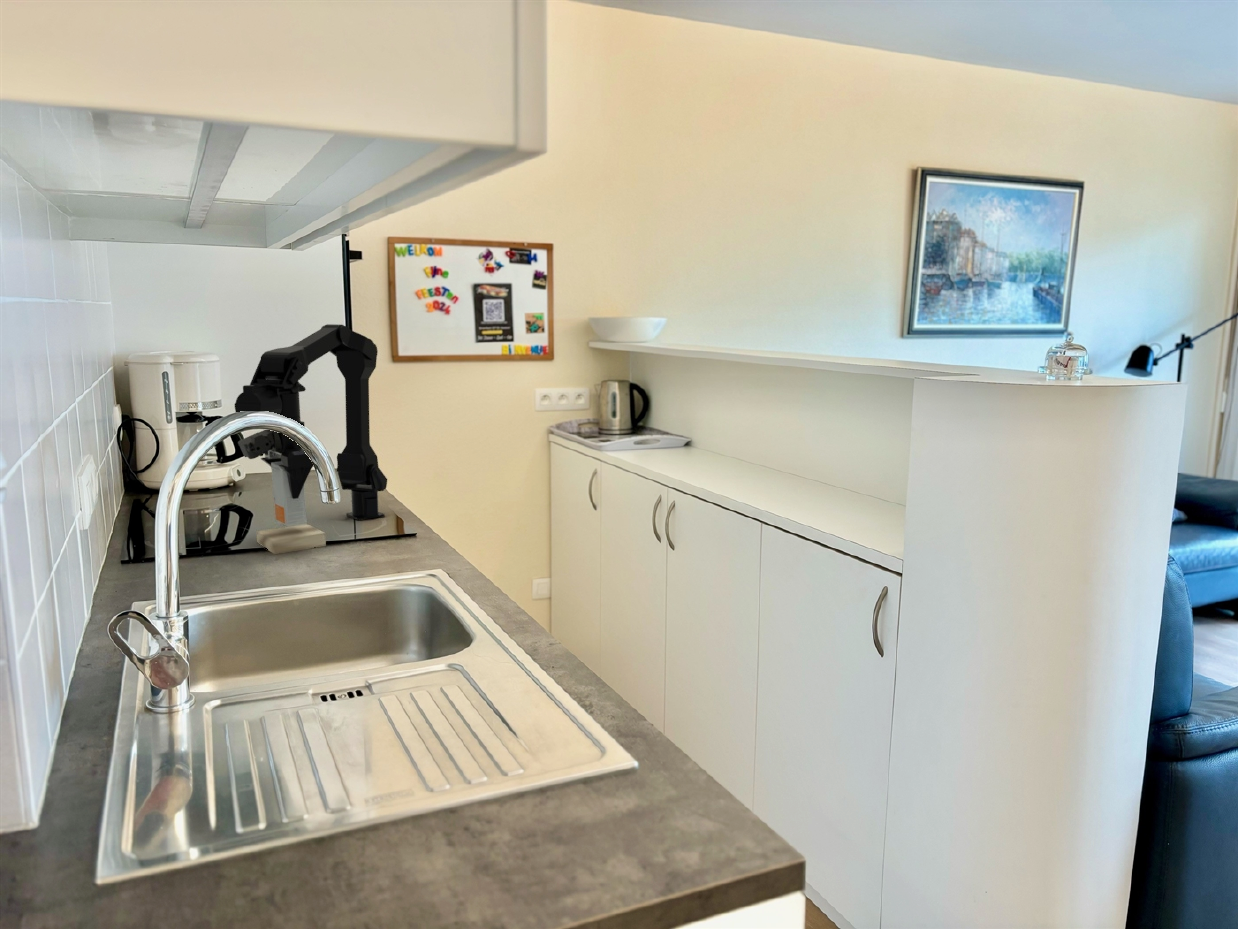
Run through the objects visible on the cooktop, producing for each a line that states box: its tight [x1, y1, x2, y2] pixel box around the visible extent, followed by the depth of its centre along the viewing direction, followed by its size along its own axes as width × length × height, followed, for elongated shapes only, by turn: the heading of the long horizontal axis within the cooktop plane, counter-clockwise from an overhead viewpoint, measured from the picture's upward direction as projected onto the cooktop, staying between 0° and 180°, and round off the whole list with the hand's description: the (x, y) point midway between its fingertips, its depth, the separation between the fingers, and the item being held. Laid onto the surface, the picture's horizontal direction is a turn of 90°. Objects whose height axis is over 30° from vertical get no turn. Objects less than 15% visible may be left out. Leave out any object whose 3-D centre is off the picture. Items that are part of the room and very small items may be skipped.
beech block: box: [255, 523, 327, 555], centre depth 178 cm, size 10×10×3 cm
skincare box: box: [270, 461, 308, 527], centre depth 176 cm, size 6×4×12 cm
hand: (289, 495), depth 176 cm, fingers closed on skincare box, 6 cm apart
